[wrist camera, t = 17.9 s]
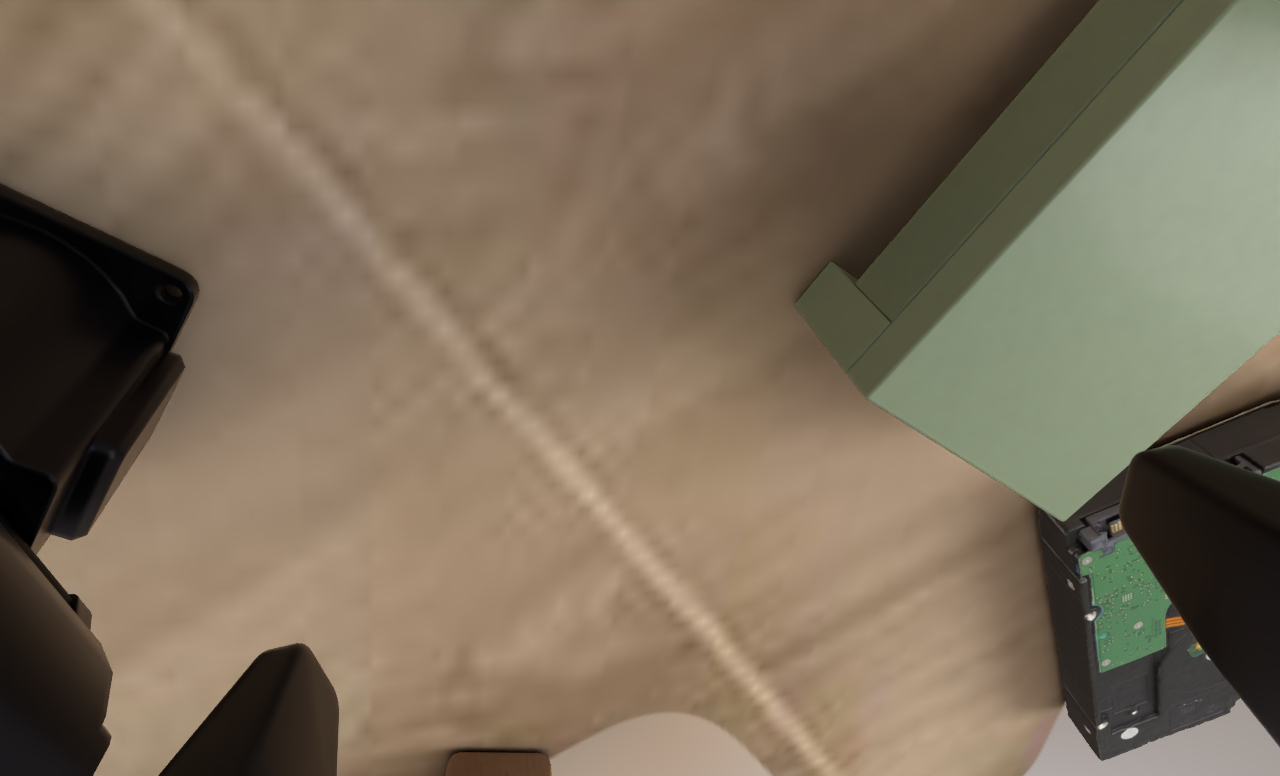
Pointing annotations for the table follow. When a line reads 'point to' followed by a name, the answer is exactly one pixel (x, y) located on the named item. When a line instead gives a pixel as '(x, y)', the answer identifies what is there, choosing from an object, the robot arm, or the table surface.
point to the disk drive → (1138, 609)
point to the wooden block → (498, 764)
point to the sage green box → (1084, 254)
